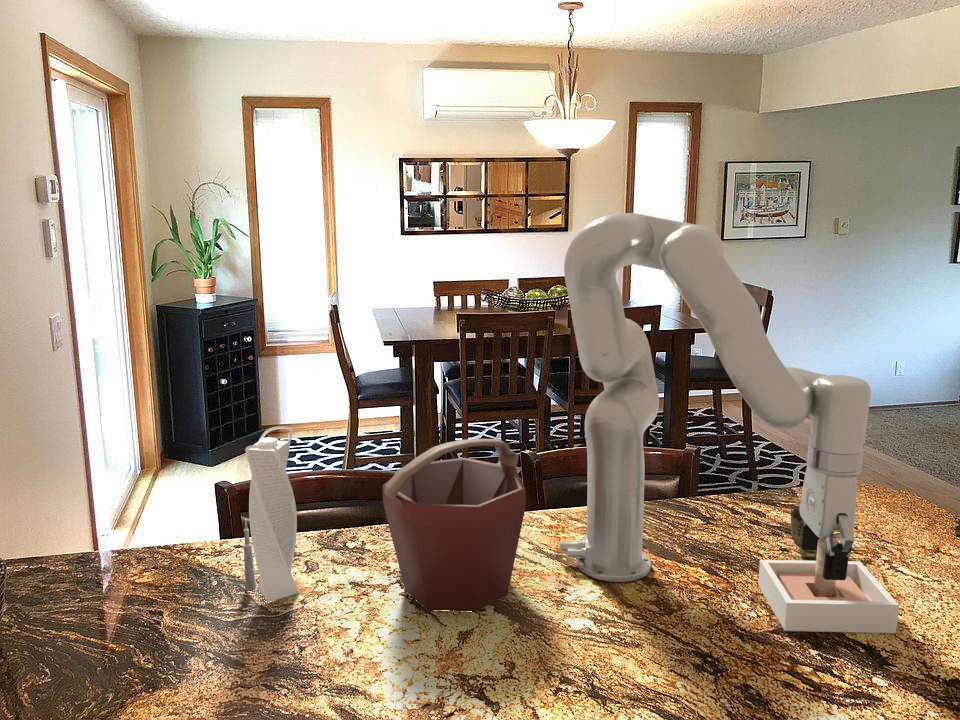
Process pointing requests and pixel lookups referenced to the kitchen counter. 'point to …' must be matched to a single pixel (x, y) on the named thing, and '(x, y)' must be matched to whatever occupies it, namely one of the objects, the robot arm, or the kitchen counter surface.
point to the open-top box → (829, 602)
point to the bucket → (456, 525)
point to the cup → (800, 534)
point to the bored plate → (803, 588)
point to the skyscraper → (270, 520)
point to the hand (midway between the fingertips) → (822, 563)
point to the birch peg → (820, 584)
